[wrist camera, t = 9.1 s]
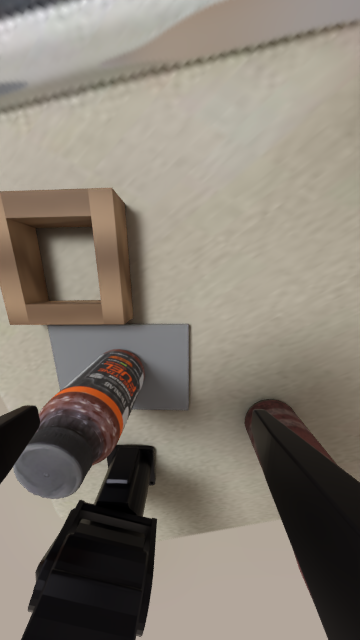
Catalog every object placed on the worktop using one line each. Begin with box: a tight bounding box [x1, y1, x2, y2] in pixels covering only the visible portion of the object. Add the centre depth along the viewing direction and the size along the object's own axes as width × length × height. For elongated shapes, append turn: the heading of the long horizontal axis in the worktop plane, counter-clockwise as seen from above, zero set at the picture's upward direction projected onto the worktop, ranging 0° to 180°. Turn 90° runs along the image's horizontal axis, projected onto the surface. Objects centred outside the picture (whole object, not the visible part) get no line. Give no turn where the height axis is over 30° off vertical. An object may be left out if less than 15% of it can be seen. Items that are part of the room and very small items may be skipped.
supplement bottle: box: [13, 349, 145, 499], centre depth 15 cm, size 6×6×11 cm
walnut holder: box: [0, 188, 133, 325], centre depth 17 cm, size 12×12×3 cm
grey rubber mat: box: [48, 324, 188, 410], centre depth 21 cm, size 11×16×1 cm
